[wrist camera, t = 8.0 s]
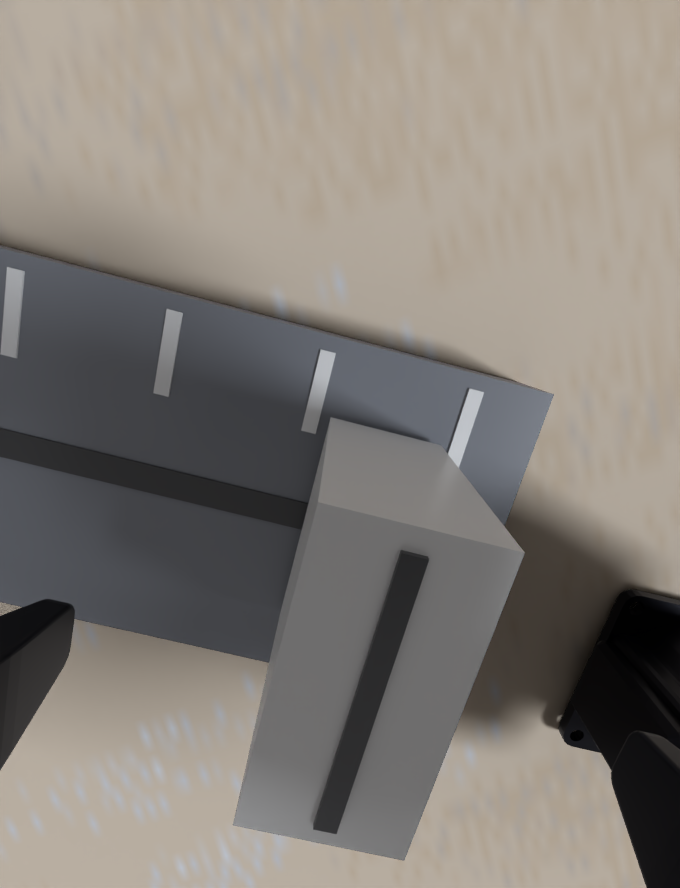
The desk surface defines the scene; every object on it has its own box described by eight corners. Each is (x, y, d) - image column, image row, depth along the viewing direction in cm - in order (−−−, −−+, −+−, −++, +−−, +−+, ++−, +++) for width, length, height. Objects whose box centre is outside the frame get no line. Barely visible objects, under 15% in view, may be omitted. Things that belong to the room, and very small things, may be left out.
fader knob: (440, 445, 12) (527, 555, 7) (379, 635, 14) (404, 866, 8) (330, 417, 12) (317, 504, 6) (280, 612, 14) (231, 831, 8)
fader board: (519, 382, 15) (554, 394, 12) (425, 647, 17) (439, 702, 15) (-131, 210, 14) (-236, 185, 11) (-133, 518, 16) (-220, 553, 14)
